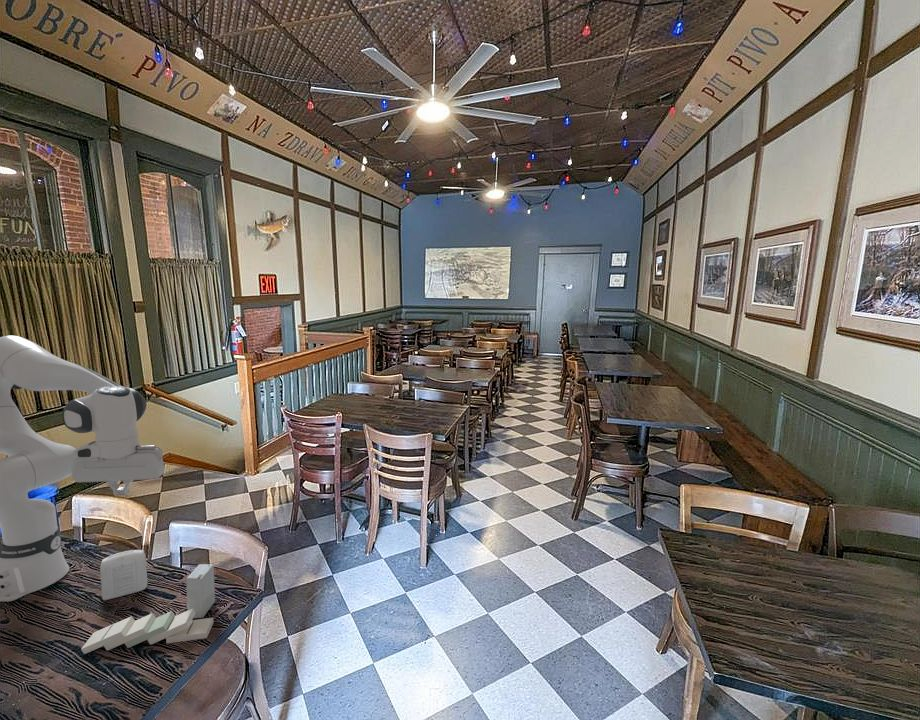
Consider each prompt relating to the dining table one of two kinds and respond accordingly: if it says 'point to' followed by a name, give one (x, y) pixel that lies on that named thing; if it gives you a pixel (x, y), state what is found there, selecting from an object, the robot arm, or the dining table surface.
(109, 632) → the domino
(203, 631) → the domino
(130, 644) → the pale green domino
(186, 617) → the domino
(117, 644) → the domino
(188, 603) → the skincare box
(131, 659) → the dining table surface
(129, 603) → the dining table surface
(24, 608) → the dining table surface
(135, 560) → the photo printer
